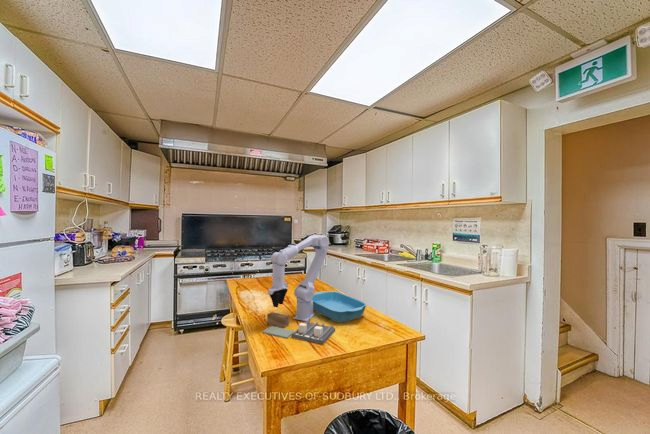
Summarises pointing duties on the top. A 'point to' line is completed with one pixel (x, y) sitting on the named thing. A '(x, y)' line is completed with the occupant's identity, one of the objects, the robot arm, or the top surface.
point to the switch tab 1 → (302, 328)
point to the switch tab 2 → (318, 331)
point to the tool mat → (278, 332)
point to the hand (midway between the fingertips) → (278, 305)
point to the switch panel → (310, 333)
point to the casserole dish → (338, 306)
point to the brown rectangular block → (278, 319)
